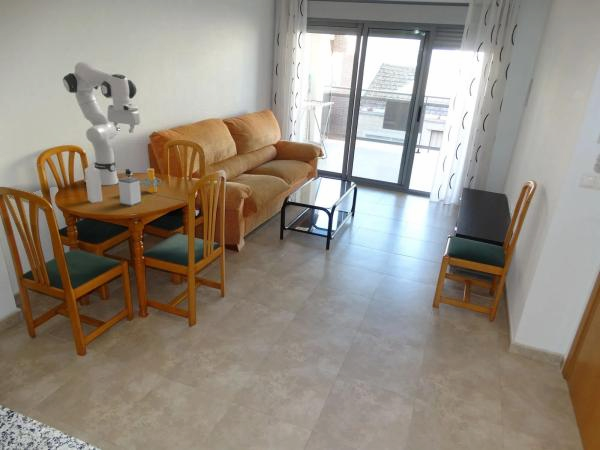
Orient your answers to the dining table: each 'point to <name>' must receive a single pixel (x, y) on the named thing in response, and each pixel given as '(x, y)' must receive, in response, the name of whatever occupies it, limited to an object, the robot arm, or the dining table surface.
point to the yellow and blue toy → (151, 181)
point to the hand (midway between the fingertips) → (124, 131)
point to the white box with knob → (130, 191)
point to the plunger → (128, 173)
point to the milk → (93, 184)
